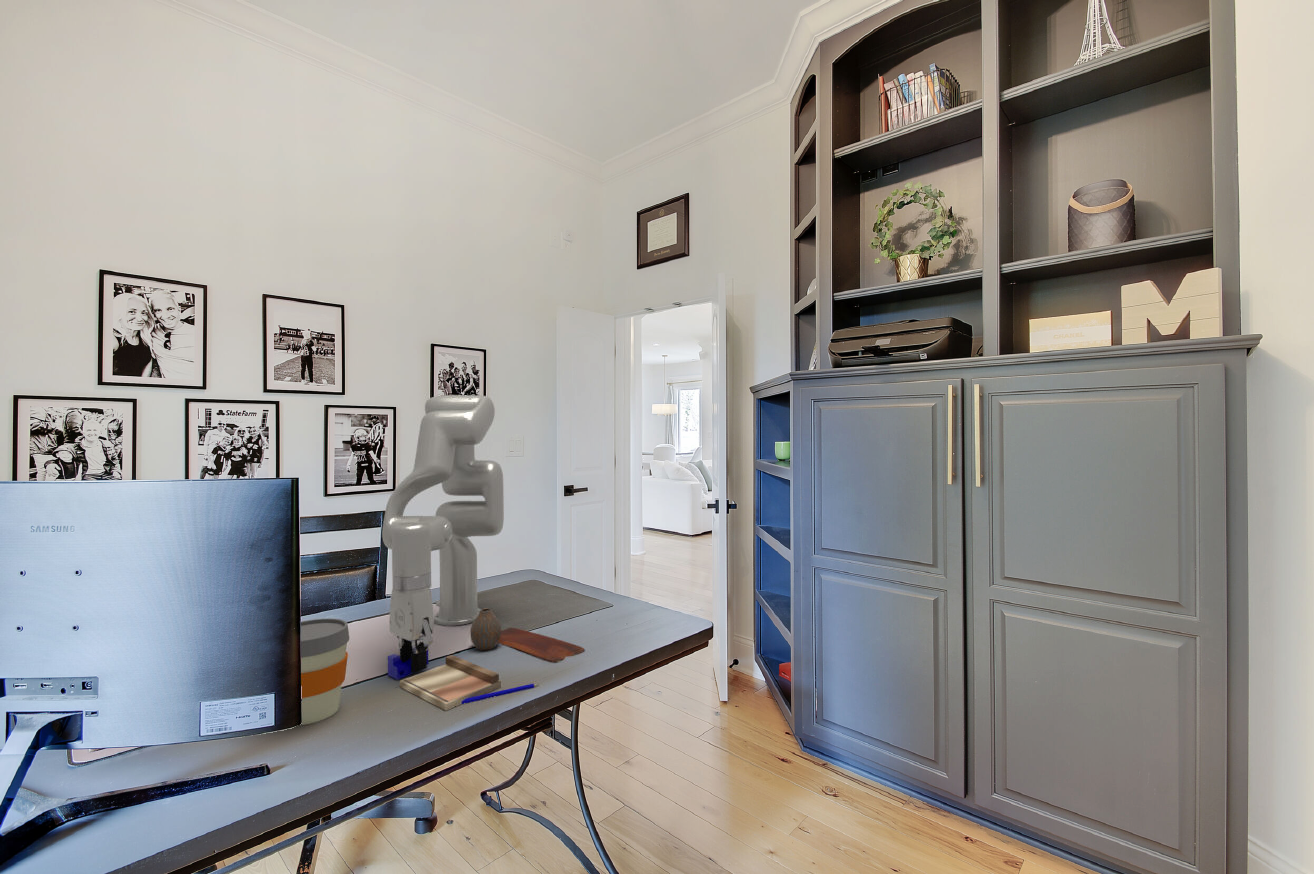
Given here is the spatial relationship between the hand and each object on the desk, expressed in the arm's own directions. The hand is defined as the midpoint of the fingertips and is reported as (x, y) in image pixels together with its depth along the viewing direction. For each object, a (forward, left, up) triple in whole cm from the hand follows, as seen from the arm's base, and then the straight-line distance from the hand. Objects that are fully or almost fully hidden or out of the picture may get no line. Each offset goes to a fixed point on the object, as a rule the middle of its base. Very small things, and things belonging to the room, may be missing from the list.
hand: (413, 666), depth 120 cm
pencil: (+23, +3, -1) cm, 24 cm away
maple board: (+13, 0, -1) cm, 13 cm away
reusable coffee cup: (+2, -21, -1) cm, 21 cm away
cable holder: (0, -1, -1) cm, 1 cm away
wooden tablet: (+8, +25, -2) cm, 27 cm away
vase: (+1, +17, -1) cm, 17 cm away
